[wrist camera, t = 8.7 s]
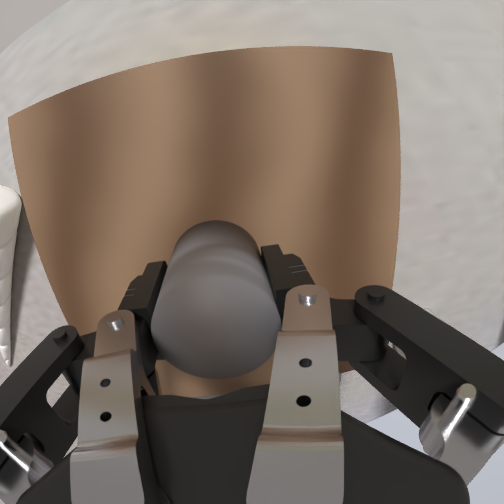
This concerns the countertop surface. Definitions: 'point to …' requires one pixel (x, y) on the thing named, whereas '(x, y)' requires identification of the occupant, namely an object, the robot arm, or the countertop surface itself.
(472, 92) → the countertop surface
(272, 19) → the countertop surface
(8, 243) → the unicorn horn
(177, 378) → the walnut lid
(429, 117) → the countertop surface
